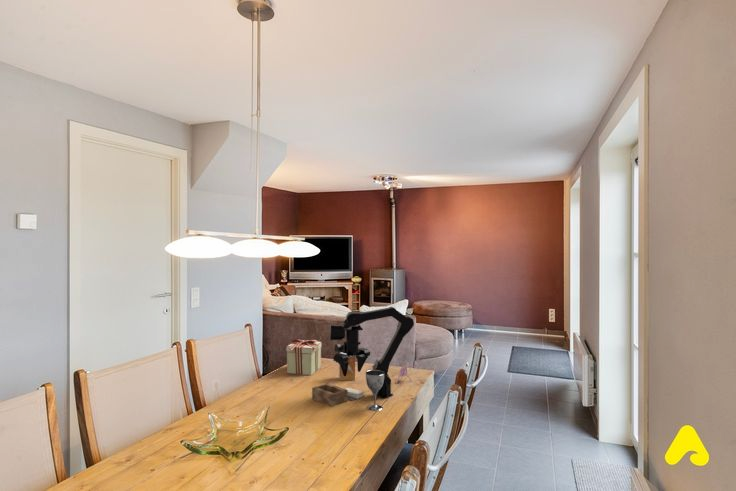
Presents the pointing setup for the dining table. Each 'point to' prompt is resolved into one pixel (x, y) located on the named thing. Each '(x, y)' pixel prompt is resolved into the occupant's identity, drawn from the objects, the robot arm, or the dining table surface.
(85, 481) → the dining table surface
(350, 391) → the block
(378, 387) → the wine glass
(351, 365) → the small box
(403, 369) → the lily
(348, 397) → the mat
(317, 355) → the gift box
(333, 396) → the rectangular frame
